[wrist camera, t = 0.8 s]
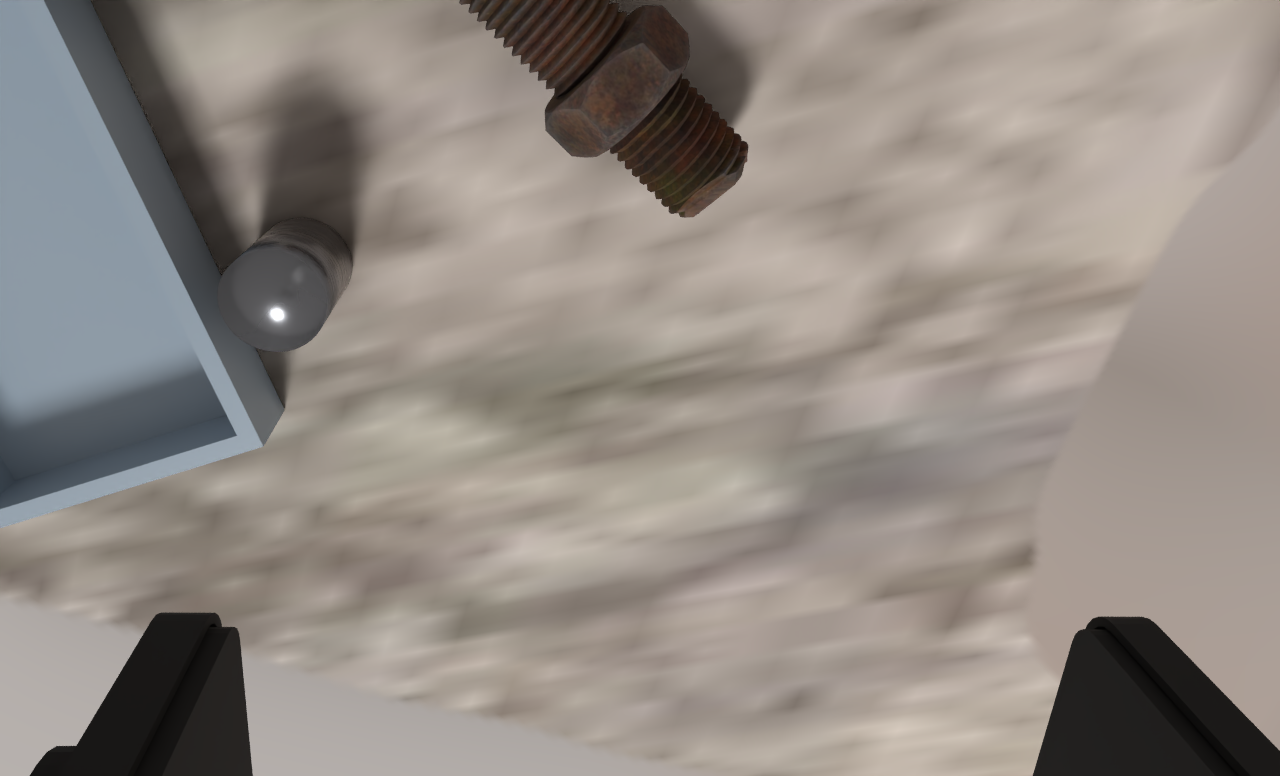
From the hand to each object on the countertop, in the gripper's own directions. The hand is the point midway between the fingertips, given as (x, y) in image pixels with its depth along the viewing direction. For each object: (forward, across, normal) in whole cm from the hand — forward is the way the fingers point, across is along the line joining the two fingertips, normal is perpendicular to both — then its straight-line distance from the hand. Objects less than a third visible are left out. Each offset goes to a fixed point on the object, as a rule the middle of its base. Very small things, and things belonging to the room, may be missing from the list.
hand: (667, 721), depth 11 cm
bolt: (+24, +2, -7) cm, 25 cm away
